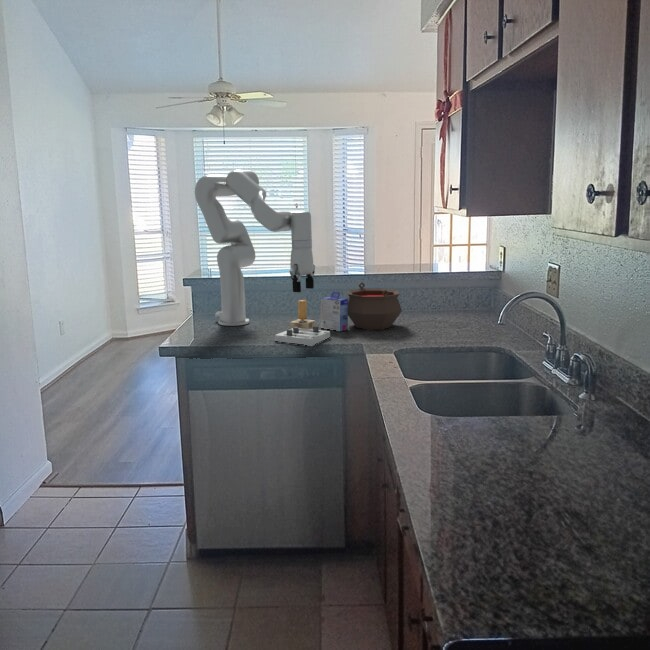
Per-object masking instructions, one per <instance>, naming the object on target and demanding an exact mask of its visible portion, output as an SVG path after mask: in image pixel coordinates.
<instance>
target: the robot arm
mask: <svg viewBox="0 0 650 650" xmlns="http://www.w3.org/2000/svg"><path fill="white" fill-rule="evenodd" d="M194 196H195V197H194V198H195V200H196V203H197V205H198V207H199V208H200V211H201V213H202V216H203V218H204V220H205V223H206V225H207V228H208V232H209V233H210V235H211V238H212V240H213V242H215V243H216V244H218V245H226V244H229V245H226V246H222V247H221V248H220V249H219V250H218V252H217V255H216V260H217V261H216V262H217V266H218V271H219V283H220V300H221V311H216V312H215V314H214V316H215V317H217V318H219V319H218V322H217V323H218V325H221V326H226V327H232V326H233V327H234V326H236V327H238V326H245V325H247V324H250V318H247V317H246V296H245V294H246V293H245V292H246V291H245V276H244V275H243V274H244V273H243V272H242V268H246V267H250V266H251V265H253V264H254V263H255V261H256V251H255V247H254V246H253V245H254V244H253V243H252V240H251V237H250V236H249V232H248V230H247V227H246V226H245V224H244V223H243V222H242V221H241V220H239V219H236V218H235V219H234V218H231V219H229V218H228V216H227V214H226V212H225V209H224V207H223V205H222V204H221V202H220V201H219V200H218V199H217V198H216V197H231V196H232V197H233V196H237V197H238V198H239V199H241V200H242V202H244V204H246V205H247V206H249V207H250V210H251V213H252V215H253V217H254V219H255V220H256V221H257V222H258V223H259V224H260V225H262V226H263V227H264V228H265V229H267V230H269V231H270V232H273V233H278V232H288V231H290V232H291V251H290V261H289V262H290V269H289V275H290V278H291V282H292V292H293V293H302V292H301V291H302V286H301V283H302V281H300V280H301V277H303V276H305V288H306V289H308V290H309V289H311V290H312V289H313V290H314V288H315V287H314V286H315V283H314V278H315V273H316V272H315V271H316V270H315V269H316V265H315V264H314V256H313V240H312V239H313V236H312V235H313V234H312V215H311V212H310V211H307V210H305V211H303V210H299V211H292V210H277V211H275V209H273V208H271V207H270V206H269V205H268V204H267V203H266V202H265V200H266V197H267V191H266V190H265V189H264V188H263V187H262V186H261V185H260V181H259V177H258V175H257V173H256V172H254V171H253V170H251V169H250V170H249V169H235V170H234V169H233V170H232V171H230V172H229V173H227V174H206V175H204V176H201V177H200V178H199V179H198V180H197V182H196V183H195V187H194Z"/></svg>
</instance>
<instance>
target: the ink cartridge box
mask: <svg viewBox="0 0 650 650" xmlns="http://www.w3.org/2000/svg"><path fill="white" fill-rule="evenodd" d="M335 294H336V295H335ZM340 295H341V292H340V291H339V292H338V291H332V293H331V296H326V297H321V298H320V328H319V329H321V328H324V329H323V330H327V329H330V330H329V331H333V330H336V331H335V332H344V331H347V330H346V329H349V316H348V298H342V297H340ZM343 330H344V331H343Z"/></svg>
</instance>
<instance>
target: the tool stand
mask: <svg viewBox="0 0 650 650" xmlns="http://www.w3.org/2000/svg"><path fill="white" fill-rule="evenodd" d="M314 326H316V320H315V319H314V320H313V319H304V322H301V320H300V319H298V318H297V319H295V320H291V321H290V322H289V329H292V328H293V327H299V328H304V329H313V327H314Z"/></svg>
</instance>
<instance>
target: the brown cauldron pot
mask: <svg viewBox="0 0 650 650" xmlns="http://www.w3.org/2000/svg"><path fill="white" fill-rule="evenodd" d="M365 286H366V284H365V283H364V282H362V281H361V282H360V283H359V284H358V287H359V288H356V289H355V288H354V289H348V290H346V293H347V295H348V298H347V299H348V318H349V319H350V320H351V322H352V323H353V325H354V326H355V328H356V327H357V329H361V328H362V330H366V329H382V330H384V329H385V328H386V329H388V328H389V327H390V328H391V327H392V326H393V324H394V323H395V321H396V320H397V318H398V317H399V316H400V314H401V313H402V312H403V308H402V307H401V305H400V302H399V299H398V297H399V296H400V295H401V293H400V291H399V290H398V289H392V288H383V287H372V288H370V287H365ZM390 328H389V329H390Z"/></svg>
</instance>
